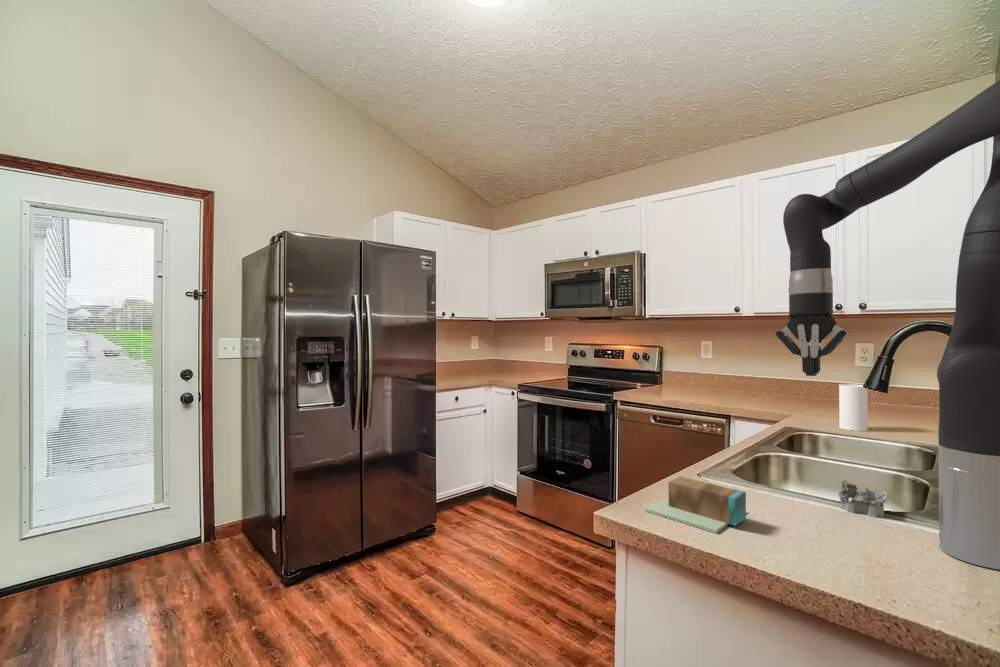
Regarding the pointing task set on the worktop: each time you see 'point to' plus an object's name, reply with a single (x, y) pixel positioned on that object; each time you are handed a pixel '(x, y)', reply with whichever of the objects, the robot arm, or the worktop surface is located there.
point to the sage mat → (685, 516)
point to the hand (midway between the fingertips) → (811, 375)
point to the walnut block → (708, 500)
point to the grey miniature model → (862, 500)
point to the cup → (853, 407)
